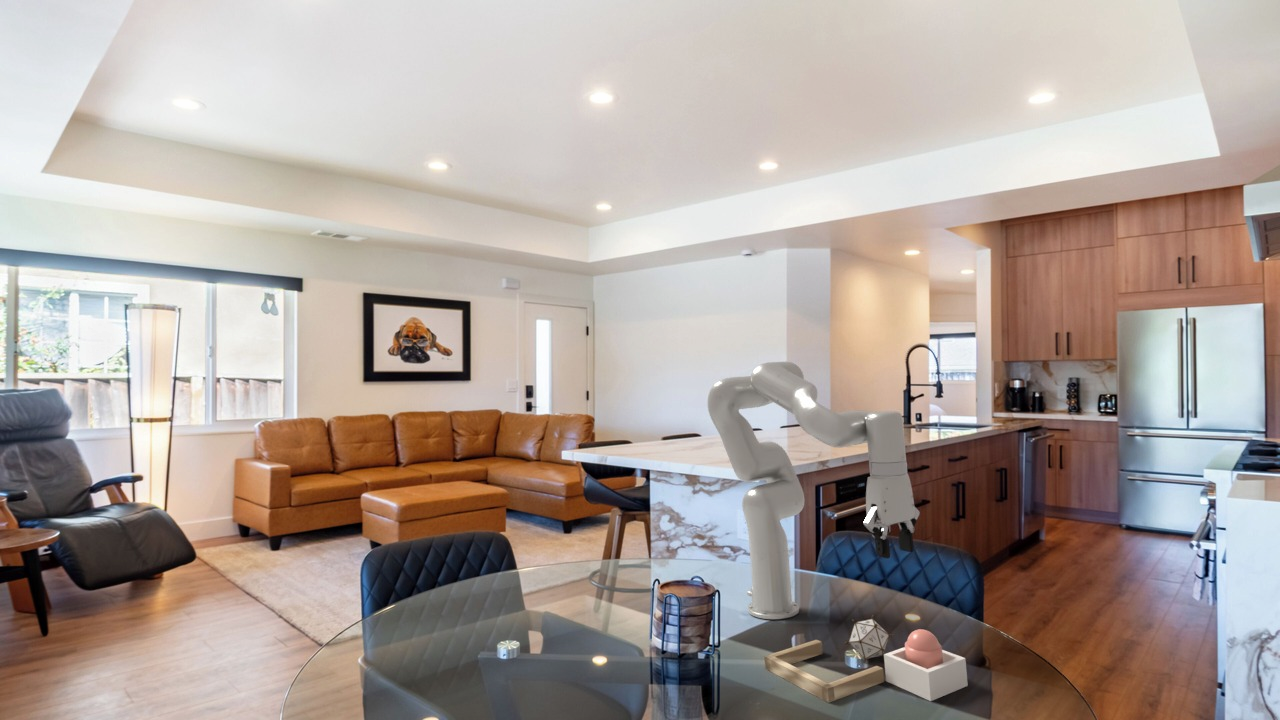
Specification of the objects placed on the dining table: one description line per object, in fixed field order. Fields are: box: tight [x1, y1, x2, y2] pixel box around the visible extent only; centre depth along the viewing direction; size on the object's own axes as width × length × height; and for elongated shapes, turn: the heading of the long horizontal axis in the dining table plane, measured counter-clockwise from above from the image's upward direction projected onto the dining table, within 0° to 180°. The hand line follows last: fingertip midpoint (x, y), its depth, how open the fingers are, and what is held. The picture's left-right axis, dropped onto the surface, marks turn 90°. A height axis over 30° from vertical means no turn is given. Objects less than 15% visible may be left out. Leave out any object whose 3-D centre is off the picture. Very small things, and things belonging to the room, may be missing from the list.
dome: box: [904, 628, 943, 669], centre depth 126 cm, size 6×6×6 cm
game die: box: [844, 614, 894, 664], centre depth 139 cm, size 9×8×10 cm
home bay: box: [763, 639, 885, 704], centre depth 133 cm, size 18×14×2 cm
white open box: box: [883, 646, 968, 702], centre depth 126 cm, size 10×10×5 cm
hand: (895, 553), depth 144 cm, fingers open, 6 cm apart
